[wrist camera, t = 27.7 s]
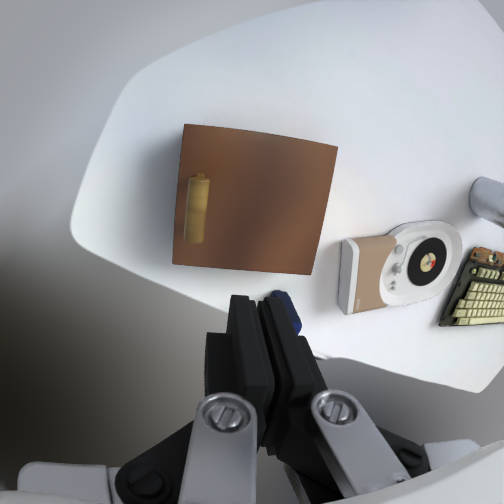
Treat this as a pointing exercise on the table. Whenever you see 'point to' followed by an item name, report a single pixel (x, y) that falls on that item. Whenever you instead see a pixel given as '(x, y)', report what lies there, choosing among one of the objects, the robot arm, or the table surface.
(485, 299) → the keyboard
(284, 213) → the lid
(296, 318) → the eraser
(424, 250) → the record player
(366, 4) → the table surface
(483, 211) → the steel cup
